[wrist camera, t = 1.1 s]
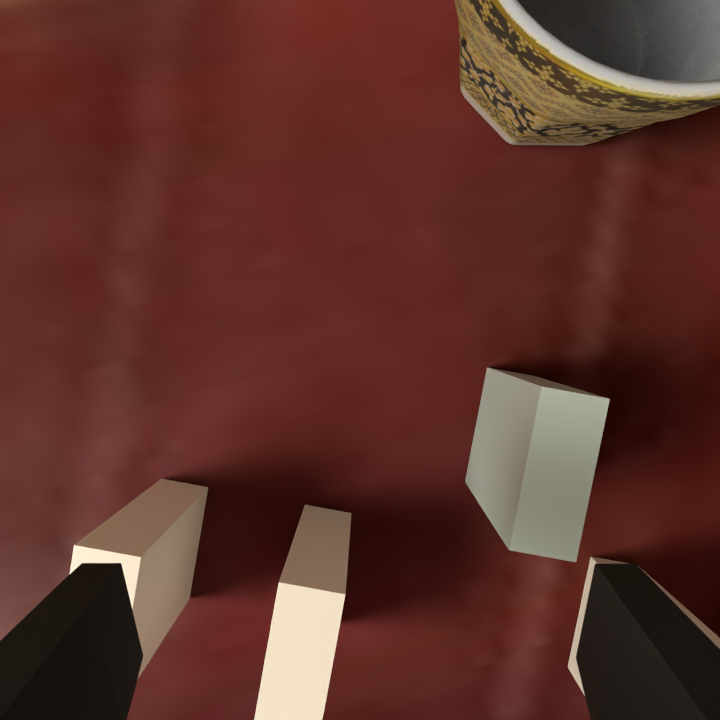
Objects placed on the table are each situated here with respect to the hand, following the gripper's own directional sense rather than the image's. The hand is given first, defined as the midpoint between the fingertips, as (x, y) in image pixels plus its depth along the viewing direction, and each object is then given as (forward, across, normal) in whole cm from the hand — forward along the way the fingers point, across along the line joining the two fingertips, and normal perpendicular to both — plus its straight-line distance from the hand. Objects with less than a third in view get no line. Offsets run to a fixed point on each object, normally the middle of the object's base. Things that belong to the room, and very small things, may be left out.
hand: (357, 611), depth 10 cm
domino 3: (+13, -5, +5) cm, 15 cm away
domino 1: (+11, +7, +9) cm, 16 cm away
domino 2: (+11, +2, +10) cm, 14 cm away
